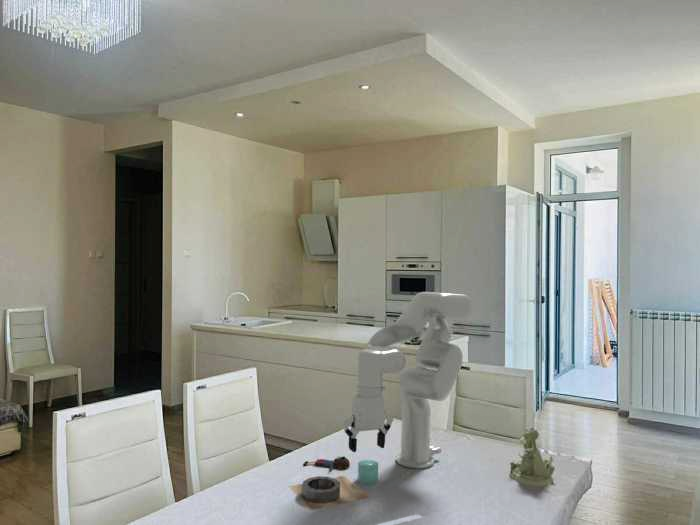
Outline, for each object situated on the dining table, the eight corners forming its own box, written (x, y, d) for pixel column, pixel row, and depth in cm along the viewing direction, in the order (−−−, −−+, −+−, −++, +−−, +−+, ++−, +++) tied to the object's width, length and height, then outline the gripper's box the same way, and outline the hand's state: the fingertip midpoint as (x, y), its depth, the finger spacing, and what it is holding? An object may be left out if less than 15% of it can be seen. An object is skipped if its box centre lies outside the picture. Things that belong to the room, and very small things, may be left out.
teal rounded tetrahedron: (371, 478, 163) (371, 458, 163) (381, 485, 158) (382, 465, 158) (354, 481, 161) (354, 461, 160) (364, 489, 155) (364, 468, 155)
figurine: (562, 478, 166) (563, 430, 166) (545, 491, 157) (546, 440, 157) (519, 465, 176) (520, 420, 176) (500, 477, 166) (501, 429, 166)
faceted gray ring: (329, 484, 156) (329, 474, 156) (346, 498, 146) (346, 487, 146) (296, 491, 151) (296, 480, 151) (311, 506, 141) (311, 495, 141)
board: (343, 478, 162) (343, 475, 162) (370, 500, 148) (370, 496, 148) (288, 489, 154) (289, 486, 154) (311, 513, 140) (311, 509, 140)
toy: (298, 478, 165) (345, 479, 162) (297, 463, 165) (344, 464, 162) (310, 461, 179) (354, 462, 176) (309, 447, 179) (353, 448, 176)
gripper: (386, 387, 166) (384, 441, 166) (337, 390, 158) (335, 448, 158) (400, 392, 160) (397, 449, 159) (349, 396, 152) (347, 456, 151)
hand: (366, 448), depth 159 cm, fingers open, 9 cm apart
